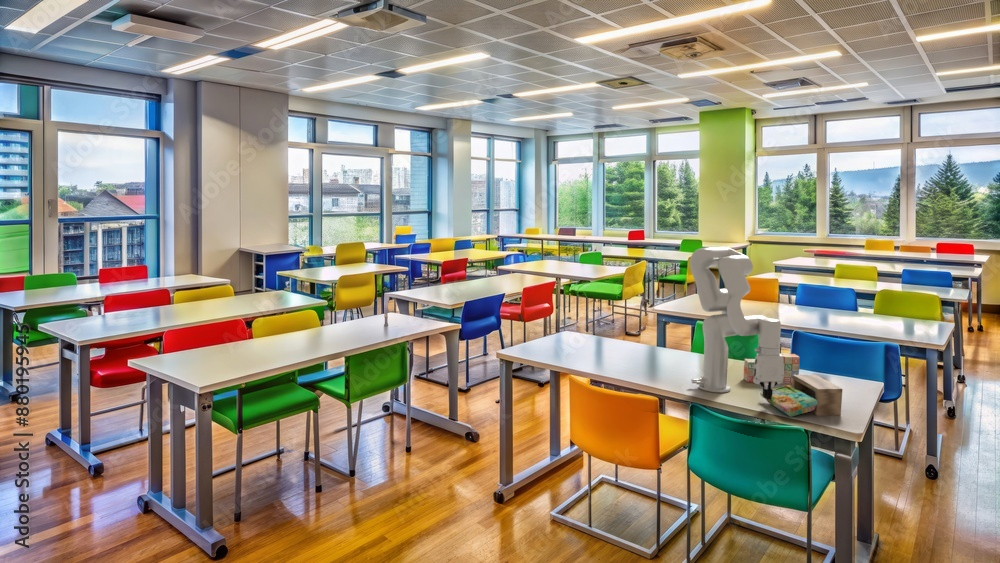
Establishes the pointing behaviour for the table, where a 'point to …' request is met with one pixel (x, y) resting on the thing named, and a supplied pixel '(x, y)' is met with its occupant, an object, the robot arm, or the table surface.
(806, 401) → the puzzle game
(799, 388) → the low shelf
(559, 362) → the table surface
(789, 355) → the stack of blocks
